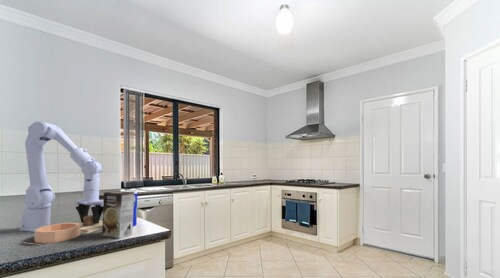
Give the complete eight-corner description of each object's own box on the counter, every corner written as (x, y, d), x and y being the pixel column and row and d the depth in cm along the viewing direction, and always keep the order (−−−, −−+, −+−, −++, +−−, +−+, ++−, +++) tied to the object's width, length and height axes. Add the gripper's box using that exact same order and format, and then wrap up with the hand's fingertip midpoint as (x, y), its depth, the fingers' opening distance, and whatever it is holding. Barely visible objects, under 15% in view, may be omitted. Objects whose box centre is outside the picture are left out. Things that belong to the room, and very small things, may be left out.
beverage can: (131, 228, 108) (132, 191, 109) (120, 228, 109) (121, 191, 110) (139, 225, 113) (140, 190, 114) (128, 225, 114) (129, 190, 115)
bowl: (25, 242, 91) (25, 230, 91) (61, 232, 103) (62, 221, 103) (52, 245, 87) (53, 233, 87) (87, 235, 99) (88, 224, 99)
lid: (61, 229, 105) (61, 218, 105) (91, 221, 118) (91, 212, 119) (88, 232, 101) (88, 220, 101) (116, 223, 114) (116, 213, 115)
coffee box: (100, 236, 97) (102, 192, 98) (115, 232, 103) (117, 190, 104) (119, 239, 93) (120, 193, 95) (133, 234, 99) (134, 191, 101)
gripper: (69, 190, 109) (67, 224, 108) (96, 191, 105) (95, 226, 104) (84, 188, 116) (83, 220, 115) (110, 189, 112) (109, 222, 111)
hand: (90, 222), depth 110 cm, fingers open, 6 cm apart
